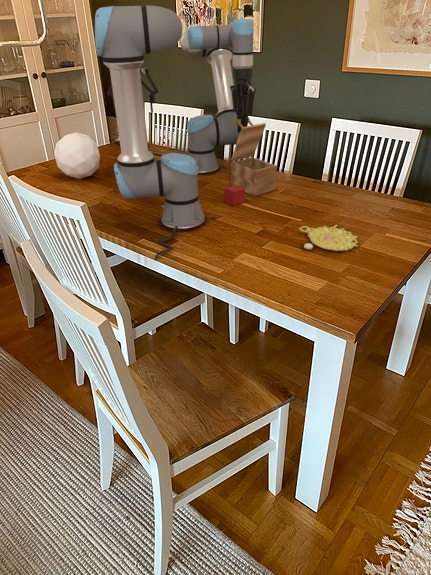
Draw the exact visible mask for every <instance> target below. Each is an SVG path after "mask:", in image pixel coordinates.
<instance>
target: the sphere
mask: <svg viewBox="0 0 431 575" xmlns="http://www.w3.org/2000/svg"><path fill="white" fill-rule="evenodd" d="M53 156H54V159H55V162H56V165H57V168H58V169H59V170H60V171H62V173H64V174H65V175H66V176H67V177H71V178H74V179H77V180H82V179H84V178H87V177H90V176H92V175H93V174H94V173H95V172H96V171H97V170H98V169H99V167H100V161H101V154H100V151H99V147H98V144H97V143H96V141H94V140H93V139H92V138H91V137H90V136H89V135H88V134H84V133H80V132H76V131H75V132H72V133H69V134H65V135H63V137H61V139H59V140H58V141H57V142H56V143H55V149H54V155H53Z"/></svg>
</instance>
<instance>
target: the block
mask: <svg viewBox="0 0 431 575" xmlns="http://www.w3.org/2000/svg"><path fill="white" fill-rule="evenodd" d="M224 202H225V203H228V204H229V205H232V206H237V205H240V204H243V203H245V202H246V192H245V188H243V187H240V186H238V185H233V186H232V185H230V186H227V187H225V188H224Z"/></svg>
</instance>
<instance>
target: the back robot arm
mask: <svg viewBox="0 0 431 575" xmlns="http://www.w3.org/2000/svg"><path fill="white" fill-rule="evenodd" d="M254 26H255V25H254V20H253V19H252V18H236V19H233V20H232V23H230V24H223V25H221V24H220V25H219V24H218V25H216V24H215V25H195V26H194V25H193V26H189V27H188V28H187V30H186V31H184V32H182V36H181V38H180V40H179V45H180V48H181V50H182V52H183V53H184V54H186V55H188V56H190V57H193V58H206V60H207V63H208V64H209V65H211V70H212V71H211V72H212V78H213V85H214V92H215V99H216V105H217V113H216V114H215V118H214V116H213V115H212V114H200V115H196V116H193V117H192V118H190V119H188V120H187V122H186V126H187V127H186V128H187V129H186V132H187V142H188V143H187V144H188V145H187V146H188V148H187V149H188V154H187V155H188V156H191V157H192V158H194V159H195V161H196V163H197V171H198V174H197V175H210V174H214V173H216V172H217V171H219V168H220V167H219V166H220V165H219V162H218V159H217V156H216V153H215V147H220V146H232V145H233V146H234V145H235V146H236V143H237V141H238V138H239V135H240V132H241V129H242V128H241V127H240V126H239V125H238V124H236V122H235V121H236V120H237V119H241V124H242V126H243V127H246V126H249V123H248V118H249V116H252V115H253V109H254V101H255V94H256V91H257V89H256V88H255V87H254V88H253V87H252V82H251V80H252V79H253V77H254V68H253V66H254V33H255V29H254V28H255V27H254ZM231 61H232V66H231ZM232 67H233V68H232ZM111 141H113V142H114V143H116V144H118V145H119V146H120V141H116V140H115V139H114V138H109V139H108V142H111ZM151 153H152V154H153V155H154V156H160V157H161V156H162V155H163V154H162V153H156V152H151Z"/></svg>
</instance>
